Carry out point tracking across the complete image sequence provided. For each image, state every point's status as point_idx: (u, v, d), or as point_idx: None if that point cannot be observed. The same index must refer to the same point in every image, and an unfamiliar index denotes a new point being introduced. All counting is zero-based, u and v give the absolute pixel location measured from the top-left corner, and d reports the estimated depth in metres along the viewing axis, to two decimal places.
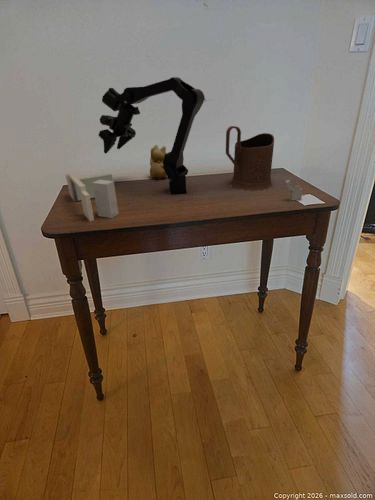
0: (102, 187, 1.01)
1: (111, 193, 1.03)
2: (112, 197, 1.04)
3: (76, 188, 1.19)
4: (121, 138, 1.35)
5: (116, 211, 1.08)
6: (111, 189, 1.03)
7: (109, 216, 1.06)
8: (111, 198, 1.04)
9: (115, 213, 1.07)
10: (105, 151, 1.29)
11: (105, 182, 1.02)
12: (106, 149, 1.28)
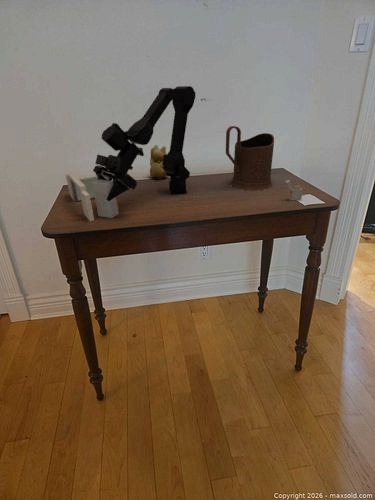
0: (102, 187, 1.01)
1: None
2: None
3: (76, 188, 1.19)
4: None
5: (116, 211, 1.08)
6: None
7: (109, 216, 1.06)
8: None
9: (115, 213, 1.07)
10: (110, 198, 1.02)
11: (105, 182, 1.02)
12: (113, 195, 1.02)
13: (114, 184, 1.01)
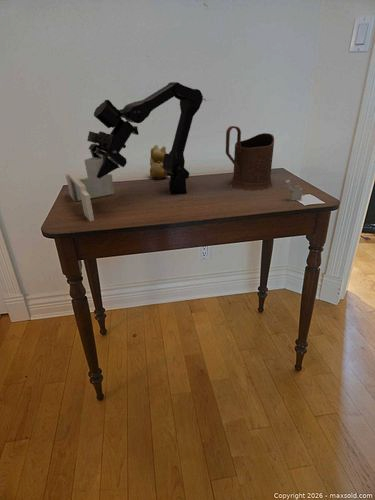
0: (93, 164, 1.02)
1: None
2: None
3: (76, 188, 1.19)
4: None
5: (108, 189, 1.08)
6: None
7: (100, 194, 1.06)
8: None
9: (106, 191, 1.07)
10: (100, 175, 1.03)
11: (96, 159, 1.03)
12: (103, 173, 1.03)
13: (104, 161, 1.01)
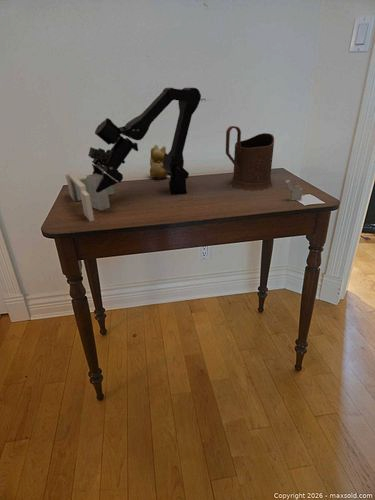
0: (93, 180, 1.09)
1: None
2: (102, 191, 1.11)
3: (76, 188, 1.19)
4: (96, 173, 1.15)
5: (107, 204, 1.14)
6: None
7: (99, 208, 1.13)
8: (101, 192, 1.10)
9: (105, 206, 1.14)
10: (99, 190, 1.07)
11: (96, 176, 1.09)
12: (102, 188, 1.07)
13: (102, 177, 1.06)
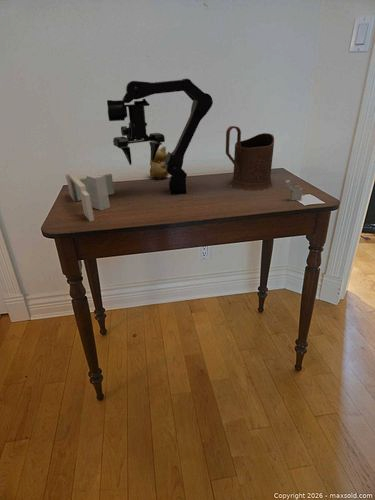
0: (93, 180, 1.08)
1: (101, 187, 1.10)
2: (102, 191, 1.11)
3: (76, 188, 1.19)
4: (151, 147, 1.21)
5: (107, 204, 1.14)
6: (102, 183, 1.10)
7: (99, 208, 1.13)
8: (101, 192, 1.10)
9: (105, 206, 1.14)
10: (129, 162, 1.18)
11: (96, 176, 1.09)
12: (128, 159, 1.17)
13: None
